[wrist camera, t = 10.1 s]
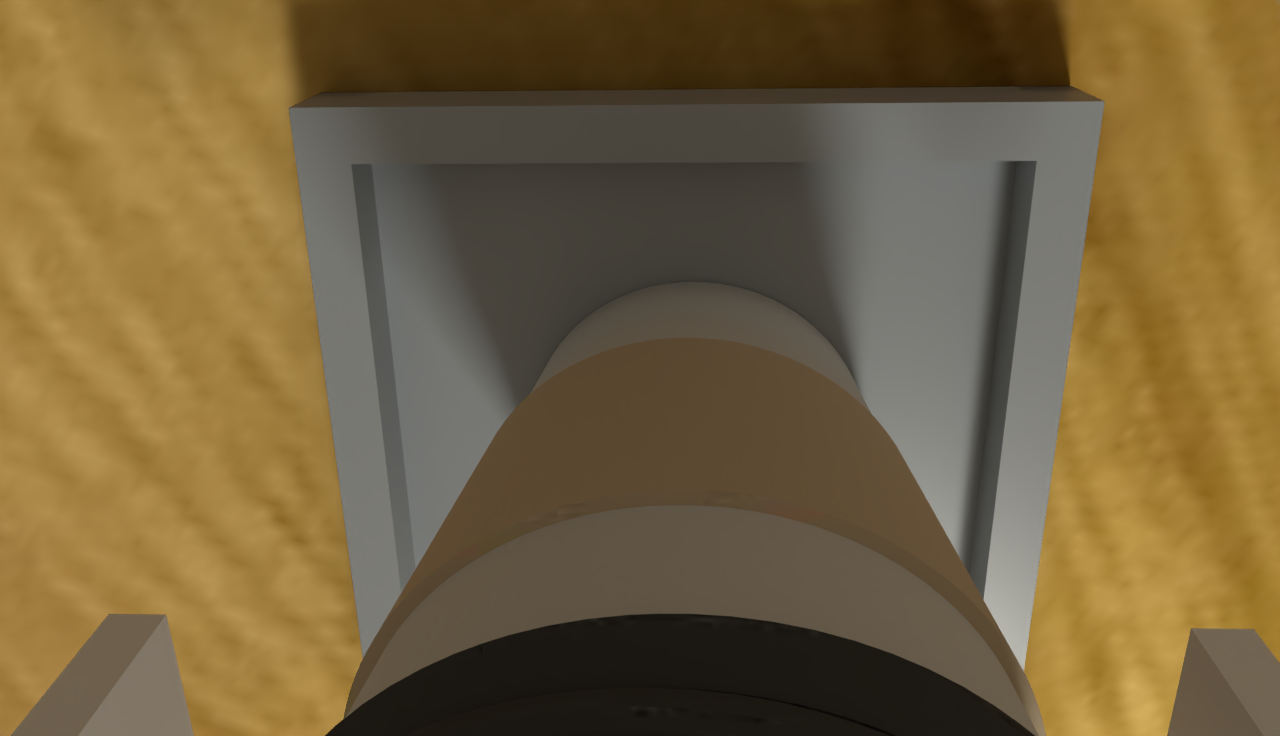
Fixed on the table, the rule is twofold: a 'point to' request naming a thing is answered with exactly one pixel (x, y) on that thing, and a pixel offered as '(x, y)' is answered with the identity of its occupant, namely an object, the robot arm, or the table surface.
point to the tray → (698, 277)
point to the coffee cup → (691, 555)
